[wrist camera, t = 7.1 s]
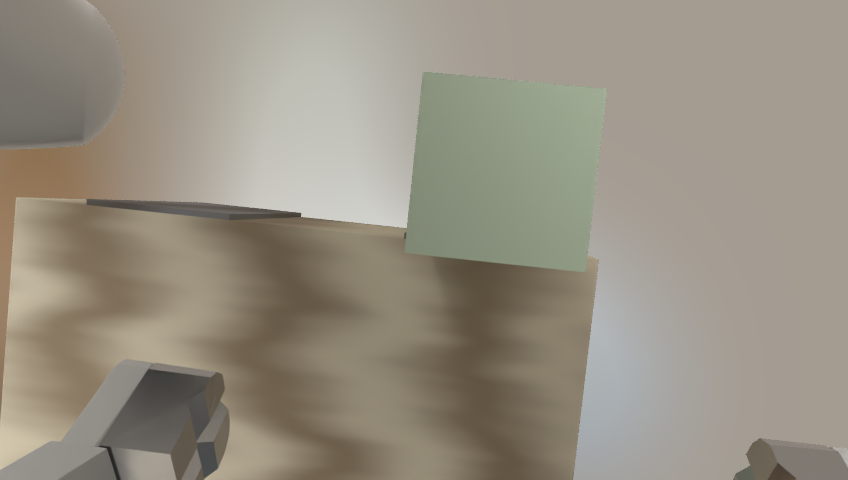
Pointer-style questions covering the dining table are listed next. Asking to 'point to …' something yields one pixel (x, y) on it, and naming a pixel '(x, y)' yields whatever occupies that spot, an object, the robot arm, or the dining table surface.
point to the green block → (505, 171)
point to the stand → (299, 340)
